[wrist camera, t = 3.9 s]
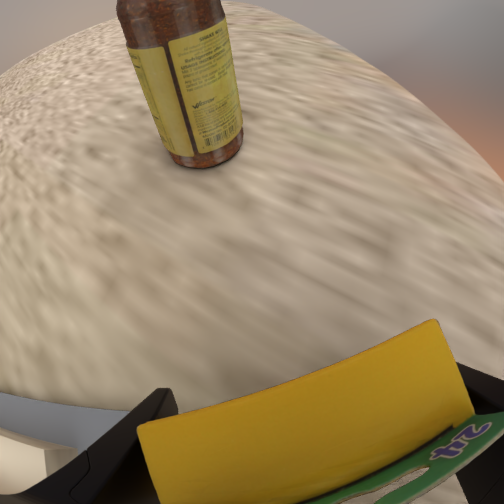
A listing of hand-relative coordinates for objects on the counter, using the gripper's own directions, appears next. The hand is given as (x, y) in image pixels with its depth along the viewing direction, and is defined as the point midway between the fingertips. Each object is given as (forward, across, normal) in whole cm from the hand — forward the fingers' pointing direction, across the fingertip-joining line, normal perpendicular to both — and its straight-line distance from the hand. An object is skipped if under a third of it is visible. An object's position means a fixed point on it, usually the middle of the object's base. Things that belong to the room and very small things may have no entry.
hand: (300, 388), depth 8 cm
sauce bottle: (+18, +4, -8) cm, 20 cm away
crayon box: (+4, 0, +6) cm, 7 cm away
